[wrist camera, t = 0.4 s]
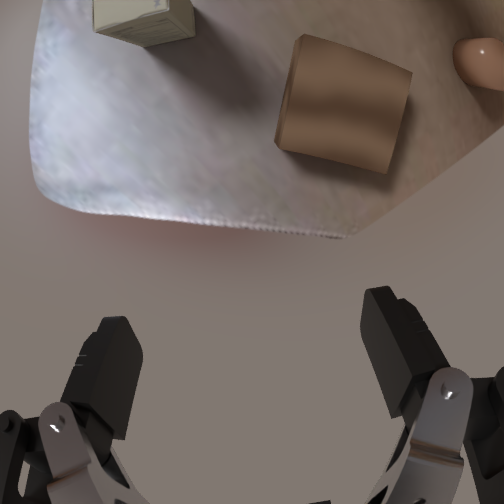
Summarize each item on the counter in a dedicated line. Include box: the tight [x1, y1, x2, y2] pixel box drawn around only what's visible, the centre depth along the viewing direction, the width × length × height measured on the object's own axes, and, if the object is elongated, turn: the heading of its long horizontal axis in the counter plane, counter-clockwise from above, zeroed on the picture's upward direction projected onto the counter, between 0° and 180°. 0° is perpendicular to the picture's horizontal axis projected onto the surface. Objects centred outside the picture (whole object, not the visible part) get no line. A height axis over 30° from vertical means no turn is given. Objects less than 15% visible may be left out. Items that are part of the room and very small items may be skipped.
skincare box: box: [92, 0, 196, 47], centre depth 19 cm, size 6×4×12 cm
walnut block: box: [274, 34, 412, 175], centre depth 28 cm, size 12×12×5 cm
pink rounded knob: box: [453, 38, 504, 91], centre depth 23 cm, size 7×7×6 cm
